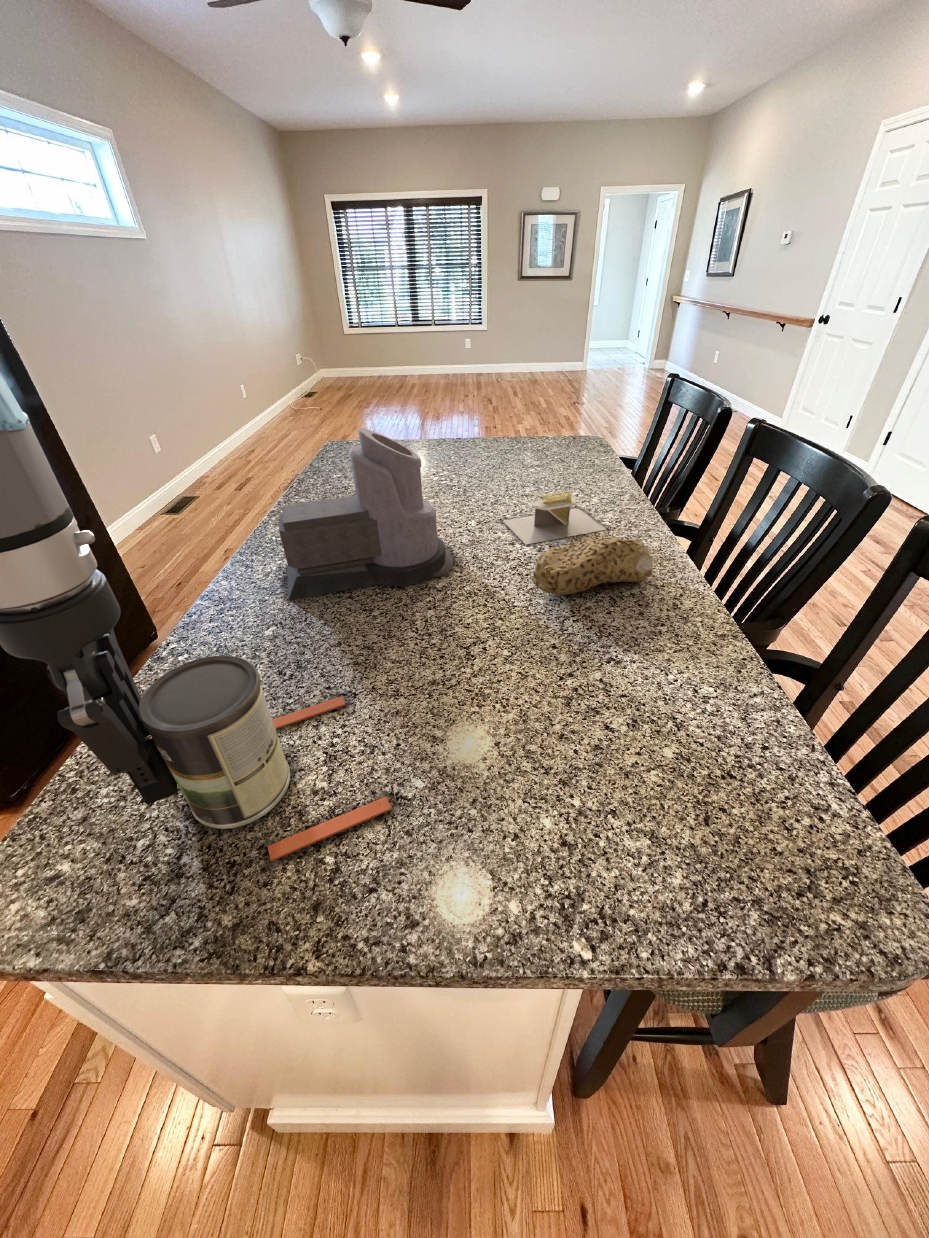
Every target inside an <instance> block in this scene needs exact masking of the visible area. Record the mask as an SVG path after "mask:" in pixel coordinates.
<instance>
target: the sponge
mask: <svg viewBox="0 0 929 1238" xmlns="http://www.w3.org/2000/svg"><path fill="white" fill-rule="evenodd" d="M534 565H535V568H534V571H533V573H532V575H533V580H532V583H533V584H534V586H535V587H537V588H538V589H539V590H541V591H542V592H545V593H550V594H552V595H555V596H561V595H573V594H577V593H578V592H579V593H581V592H584V591H587V590H590V588H594V587H596V586H598V585H600V584H608V583H617V582H629V583H638V582H641V581H645V580H646V579H647V578H649V577H650V576H651V575H652V574H653V557H651V555H650V553H649V550H648V549H647V548H646V547H645V544H644V542H643V541H641V540H639V539H637V538H632V539H631V538H630V539H625V538H618V537H611V538H610V537H609V538H608V537H607V538H599V539H589V540H584V541H577V542H573V543H570V544H567V545H561V546H553V547H552V548H549V549H548V550H546V551H545V552H543V553H541V555H539V556H538V560H536V563H535V564H534Z"/></svg>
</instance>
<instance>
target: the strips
mask: <svg viewBox="0 0 929 1238" xmlns="http://www.w3.org/2000/svg"><path fill="white" fill-rule="evenodd" d="M346 705H347V703H346V701H345V699H344V696H343V695H340V696H337V697H334V698H332V699H329V700H325V701H323V702H320V703H316V704H313V705H311V706H308V707H305V708H301V709H299V710H296V711H293V712H289V713H287V714H285V715H281V716H278V717H276V718H272V720H273V723H274V726H275V729H276V730H278V729H281V728H283V727H287V726H289V725H292V724H295V723H299V722H301V721H304V720H307V719H309V718H312V717H315V716H319V715H321V714H324V713H327V712H330V711H333V710H336V709H339V708H342V707H344V706H345V707H346ZM392 810H393V809H392V806H391V804H390V802H389V799H388V797H387V796H384V797H381V798H379V799H376V800H374V801H372V802H369V803H367V804H364V805H363V806H360V807H358V808H355V809H353V810H351V811H347V812H345V813H343V814H341V815H338V816H336V817H333V818H332V819H328V820H327V821H324V822H322V823H319V824H317V825H314V826H312V827H310V828H307V829H305V830H303V831H300V832H298V833H295V834H293V835H291V836H289V837H285V838H284V839H281V840H279V841H276V842H274V843H272V844H269V845H267V851H268V856H269V861H270V862H274V861H276V860H279V859H281V858H284V857H286V856H288V855H290V854H293V853H295V852H297V851H299V850H302V849H305V848H307V847H309V846H311V845H313V844H316V843H318V842H320V841H323V840H325V839H327V838H330V837H332V836H334V835H337V834H339V833H342V832H344V831H346V830H348V829H350V828H353V827H355V826H358V825H360V824H362V823H364V822H367V821H370V820H372V819H373V818H376V817H378V816H381V815H383V814H385V813H388V812H390V811H392Z"/></svg>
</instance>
